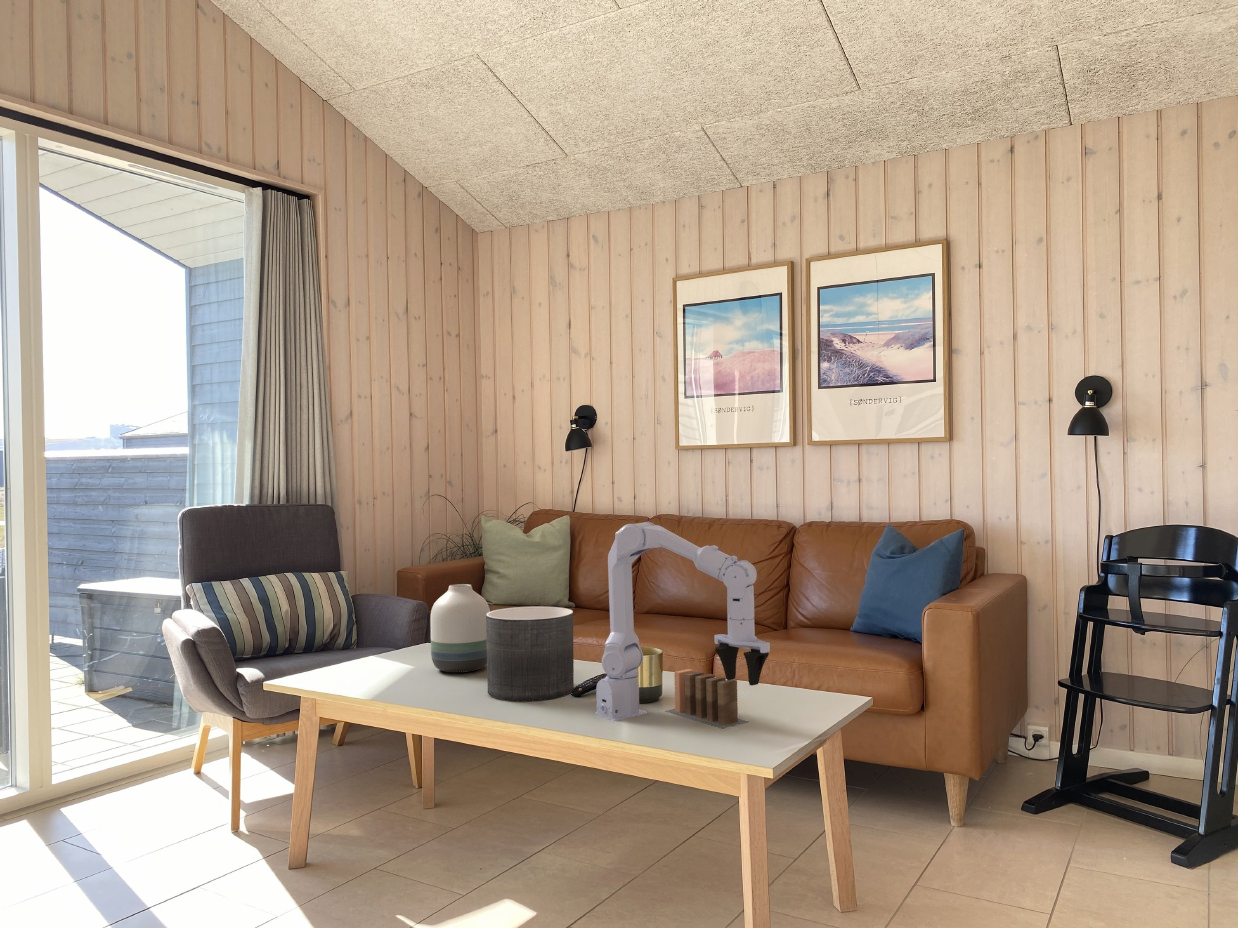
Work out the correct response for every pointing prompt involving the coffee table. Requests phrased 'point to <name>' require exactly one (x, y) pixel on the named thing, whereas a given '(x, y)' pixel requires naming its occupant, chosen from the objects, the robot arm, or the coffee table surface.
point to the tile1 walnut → (727, 702)
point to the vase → (459, 630)
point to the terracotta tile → (680, 689)
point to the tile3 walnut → (701, 695)
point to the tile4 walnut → (691, 692)
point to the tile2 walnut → (712, 698)
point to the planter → (530, 653)
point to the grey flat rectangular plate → (704, 720)
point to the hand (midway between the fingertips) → (742, 681)
